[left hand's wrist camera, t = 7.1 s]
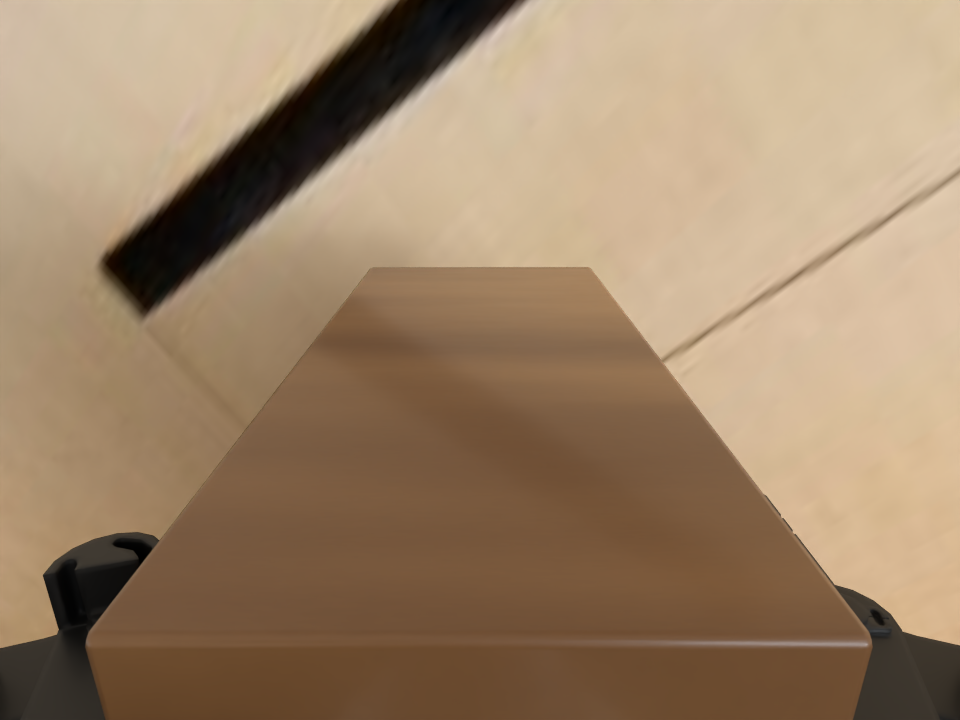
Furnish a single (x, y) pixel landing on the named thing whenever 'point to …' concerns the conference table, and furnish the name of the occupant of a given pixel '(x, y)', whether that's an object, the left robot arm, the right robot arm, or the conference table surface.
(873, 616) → the left robot arm
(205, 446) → the conference table surface
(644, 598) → the box
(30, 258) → the conference table surface
